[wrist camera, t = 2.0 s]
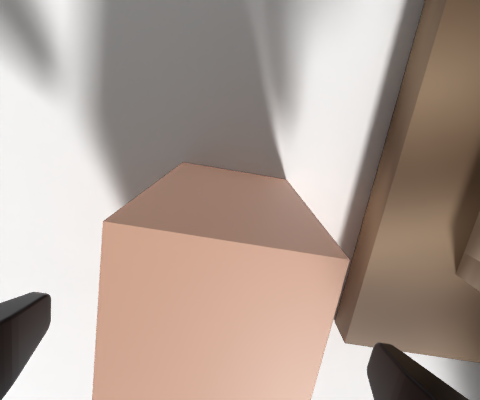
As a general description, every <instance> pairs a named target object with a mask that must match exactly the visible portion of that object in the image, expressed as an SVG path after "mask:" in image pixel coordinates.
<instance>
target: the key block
mask: <svg viewBox="0 0 480 400" xmlns="http://www.w3.org/2000/svg"><path fill="white" fill-rule="evenodd" d="M349 261H350V260H349V258H348V257H347V256H346V254H345V253H344V252H343V251H342V249H341V248H340V247H339V246H338V244H337V243H336V242H335V241H334V239H333V238H332V237H331V235H330V234H329V233H328V232H327V230H326V229H325V228H324V227H323V225H322V224H321V223H320V222H319V220H318V219H317V218H316V216H315V215H314V214H313V213H312V211H311V210H310V209H309V208H308V206H307V205H306V204H305V202H304V201H303V200H302V199H301V197H300V196H299V195H298V194H297V192H296V191H295V190H294V189H293V187H292V186H291V185H290V183H289V182H288V181H287V180H286V179H281V178H275V177H269V176H263V175H257V174H251V173H245V172H239V171H233V170H227V169H221V168H215V167H209V166H203V165H197V164H191V163H185V162H182V163H181V164H180V165H178V166H177V167H176V168H174V169H173V170H172V171H170V172H169V173H168V174H166V175H165V176H164V177H162V178H161V179H159V180H158V181H157V182H155V183H154V184H153V185H151V186H150V187H149V188H147V189H146V190H145V191H143V192H142V193H141V194H139V195H138V196H137V197H135V198H134V199H133V200H131V201H130V202H128V203H127V204H126V205H124V206H123V207H122V208H120V209H119V210H118V211H116V212H115V213H114V214H112V215H111V216H110V217H108V218H107V219H106V220H104V221H103V231H102V247H101V264H100V280H99V296H98V313H97V329H96V345H95V362H94V378H93V395H92V400H311V397H312V394H313V390H314V387H315V383H316V379H317V376H318V372H319V369H320V365H321V362H322V358H323V354H324V351H325V347H326V344H327V340H328V336H329V333H330V329H331V326H332V322H333V319H334V315H335V311H336V308H337V304H338V301H339V297H340V293H341V290H342V286H343V283H344V279H345V276H346V272H347V268H348V265H349Z"/></svg>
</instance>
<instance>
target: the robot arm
mask: <svg viewBox="0 0 480 400" xmlns="http://www.w3.org/2000/svg"><path fill="white" fill-rule="evenodd" d="M50 321H51V297H50V295H49V294H46V293H39V292H31V293H28V294H25V295H23V296H20V297H17V298H14V299H11V300H8V301H5V302H2V303H0V400H2V398H3V397H4V396H5V395H6V393H7V392H8V390H9V389H10V388H11V386H12V385H13V384H14V382H15V381H16V379H17V378H18V376H19V375H20V373H21V371H22V370H23V368H24V367H25V365H26V363H27V362H28V360H29V359H30V357H31V356H32V354H33V352H34V351H35V349H36V348H37V346H38V344H39V343H40V341H41V340H42V338H43V336H44V335H45V333H46V332H47V330H48V328H49V325H50ZM367 375H368V379H369V383H370V386H371V390H372V394H373V397H374V400H468V399H467V398H466V397H464V396H463V395H461V394H460V393H459V392H457V391H456V390H454V389H453V388H452V387H450V386H449V385H447V384H446V383H445V382H443V381H442V380H441V379H439V378H438V377H436V376H435V375H434V374H432V373H431V372H429V371H428V370H427V369H425V368H424V367H422V366H421V365H420V364H418V363H417V362H416V361H414V360H413V359H411V358H410V357H409V356H407V355H406V354H404V353H403V352H402V351H400V350H399V349H398V348H396V347H395V346H393V345H391V344H387V343H380V342H378V343H376V344H375V345H374V347H373V350H372V354H371V357H370V360H369V363H368V366H367Z"/></svg>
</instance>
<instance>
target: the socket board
mask: <svg viewBox="0 0 480 400" xmlns="http://www.w3.org/2000/svg"><path fill="white" fill-rule="evenodd" d="M335 323H336V325H337V328H338V330H339V332H340V334H341V336H342V338H343V340H344V342H345V343H348V344H355V345H361V346H368V347H374V345H375V344H376V343H378V342H380V343H387V344H391V345H393V346H395V347H396V348H398V349H399V350H400V351H403V352H410V353H416V354H423V355H430V356H437V357H444V358H451V359H458V360H465V361H471V362H478V363H480V0H425V3H424V6H423V10H422V13H421V17H420V21H419V24H418V28H417V31H416V35H415V38H414V42H413V45H412V49H411V53H410V56H409V60H408V63H407V67H406V70H405V74H404V77H403V81H402V84H401V88H400V92H399V95H398V99H397V102H396V106H395V109H394V113H393V116H392V120H391V124H390V127H389V131H388V134H387V138H386V141H385V145H384V148H383V152H382V155H381V159H380V163H379V166H378V170H377V173H376V177H375V180H374V184H373V187H372V191H371V195H370V198H369V202H368V205H367V209H366V212H365V216H364V219H363V223H362V226H361V230H360V234H359V237H358V241H357V244H356V248H355V251H354V255H353V258H352V262H351V266H350V269H349V273H348V276H347V280H346V283H345V287H344V290H343V294H342V298H341V301H340V305H339V308H338V312H337V315H336V319H335Z"/></svg>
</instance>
